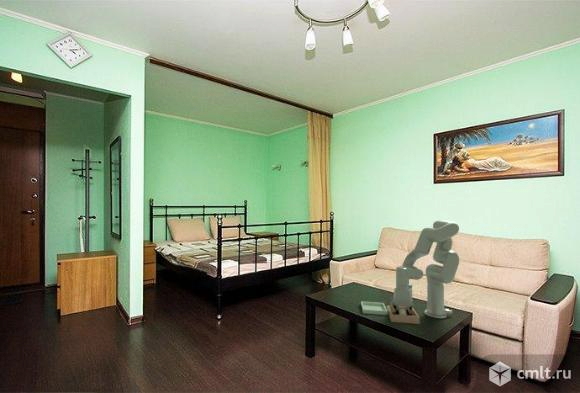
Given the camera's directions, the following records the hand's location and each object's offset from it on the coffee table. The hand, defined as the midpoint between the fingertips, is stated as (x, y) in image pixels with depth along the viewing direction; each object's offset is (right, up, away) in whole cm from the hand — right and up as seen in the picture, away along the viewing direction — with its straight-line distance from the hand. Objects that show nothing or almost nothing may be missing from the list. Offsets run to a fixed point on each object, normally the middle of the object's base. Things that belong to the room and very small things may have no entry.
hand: (402, 316), depth 171 cm
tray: (-14, -1, +12) cm, 18 cm away
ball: (0, +2, 0) cm, 2 cm away
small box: (+13, -2, +27) cm, 30 cm away
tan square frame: (0, -1, 0) cm, 1 cm away
